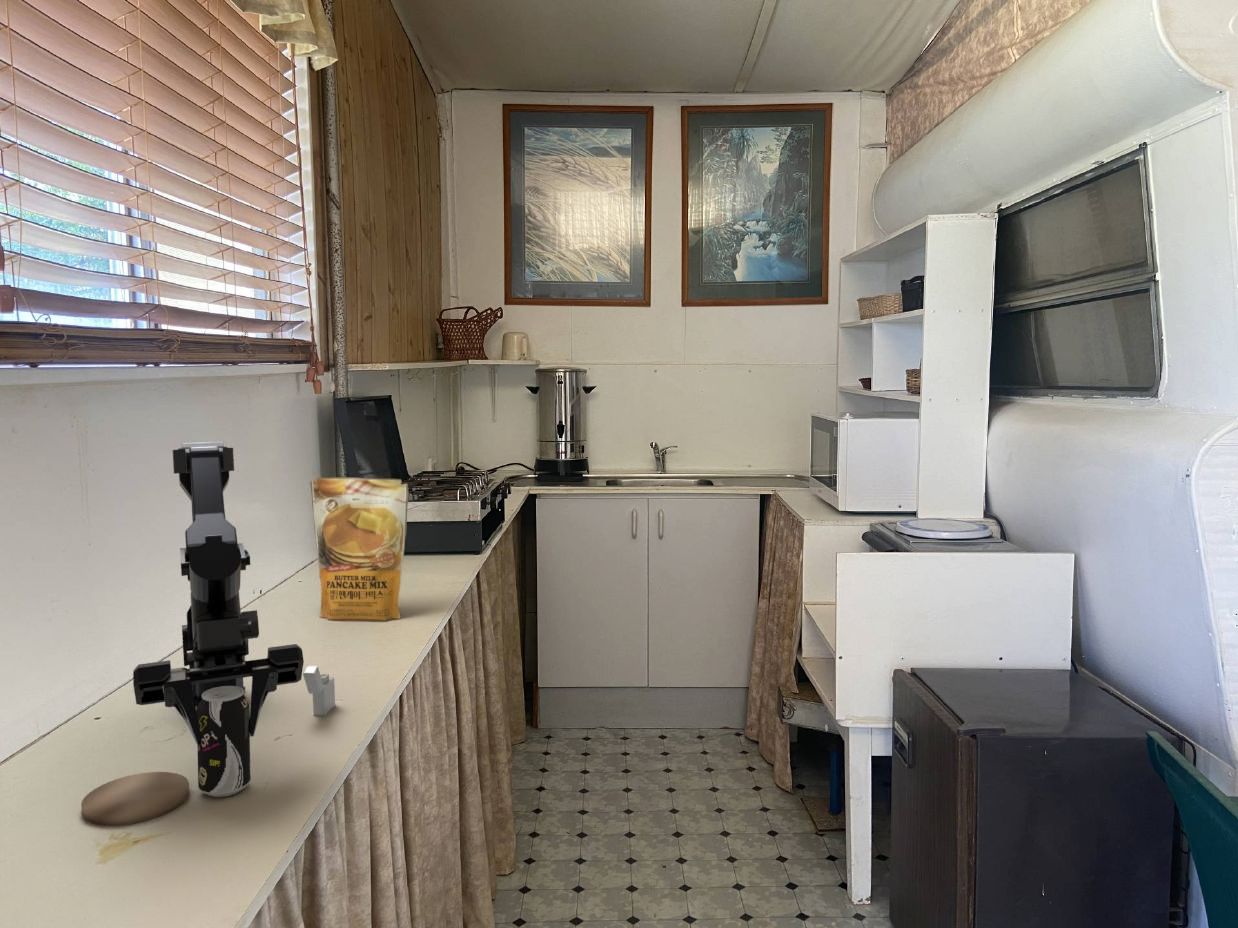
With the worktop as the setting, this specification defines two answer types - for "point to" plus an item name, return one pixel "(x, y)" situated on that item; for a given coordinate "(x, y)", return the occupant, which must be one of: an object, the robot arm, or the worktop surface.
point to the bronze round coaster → (135, 798)
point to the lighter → (320, 690)
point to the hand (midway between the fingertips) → (226, 739)
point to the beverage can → (223, 741)
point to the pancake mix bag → (360, 546)
